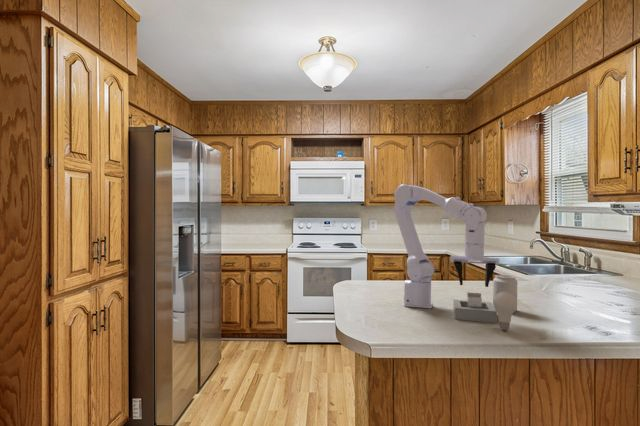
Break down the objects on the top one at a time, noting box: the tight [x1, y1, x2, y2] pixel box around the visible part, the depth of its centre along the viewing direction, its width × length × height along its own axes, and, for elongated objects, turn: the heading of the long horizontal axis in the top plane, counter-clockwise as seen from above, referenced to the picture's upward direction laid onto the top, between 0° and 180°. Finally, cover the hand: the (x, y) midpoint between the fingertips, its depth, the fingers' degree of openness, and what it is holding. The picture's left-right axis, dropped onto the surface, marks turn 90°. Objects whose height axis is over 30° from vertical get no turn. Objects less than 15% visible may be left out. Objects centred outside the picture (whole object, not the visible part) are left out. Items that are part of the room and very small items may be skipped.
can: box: [492, 274, 518, 313], centre depth 126 cm, size 8×8×12 cm
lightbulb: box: [492, 292, 518, 332], centre depth 105 cm, size 6×6×11 cm
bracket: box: [466, 291, 483, 309], centre depth 119 cm, size 4×5×7 cm
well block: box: [452, 298, 498, 324], centre depth 119 cm, size 12×12×4 cm
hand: (473, 285), depth 119 cm, fingers open, 7 cm apart
